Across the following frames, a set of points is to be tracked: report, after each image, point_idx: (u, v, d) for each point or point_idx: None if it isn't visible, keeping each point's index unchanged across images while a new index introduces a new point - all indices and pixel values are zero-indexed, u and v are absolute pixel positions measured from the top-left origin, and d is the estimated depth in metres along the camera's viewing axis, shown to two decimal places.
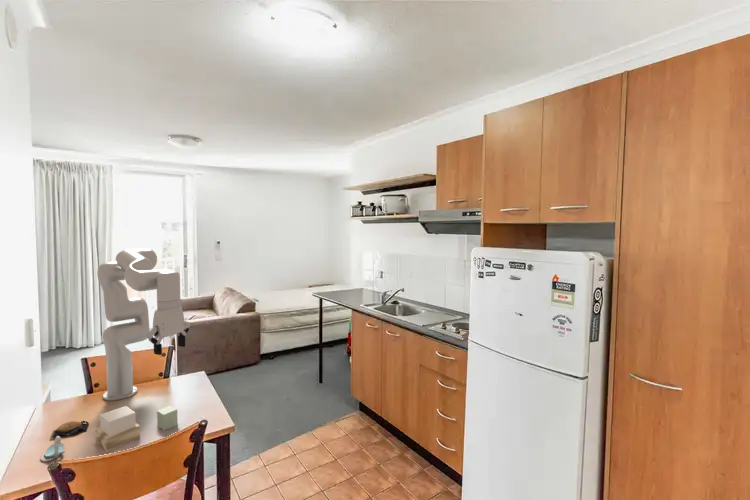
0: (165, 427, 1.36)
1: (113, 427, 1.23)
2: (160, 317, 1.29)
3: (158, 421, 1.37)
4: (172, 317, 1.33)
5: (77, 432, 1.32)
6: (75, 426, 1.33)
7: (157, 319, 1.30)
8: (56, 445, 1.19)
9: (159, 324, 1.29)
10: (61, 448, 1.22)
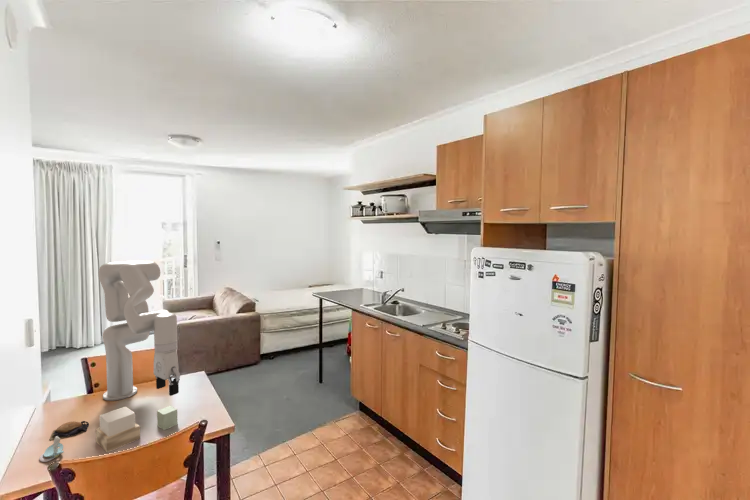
0: (165, 427, 1.36)
1: (112, 428, 1.23)
2: (176, 357, 1.35)
3: (158, 421, 1.37)
4: None
5: (77, 432, 1.31)
6: (74, 426, 1.33)
7: (173, 360, 1.34)
8: (55, 445, 1.19)
9: (176, 364, 1.35)
10: (60, 448, 1.21)
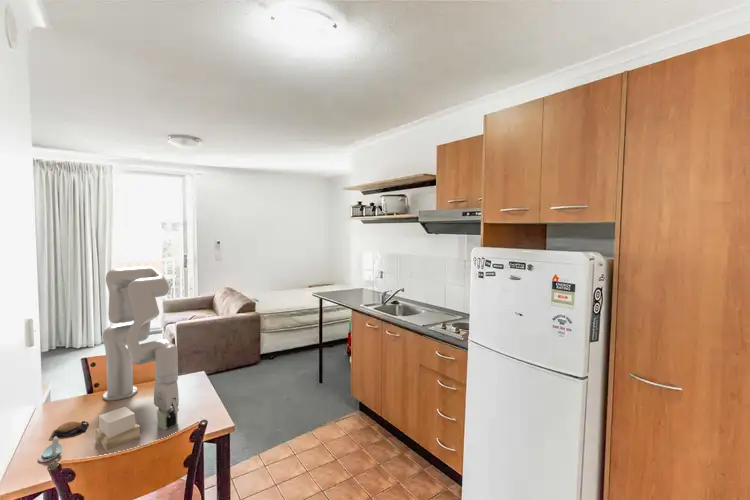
0: (165, 427, 1.36)
1: (112, 428, 1.23)
2: (176, 388, 1.36)
3: (158, 421, 1.37)
4: None
5: (76, 433, 1.31)
6: (74, 427, 1.32)
7: (174, 391, 1.35)
8: (54, 446, 1.18)
9: (176, 395, 1.36)
10: (59, 449, 1.21)
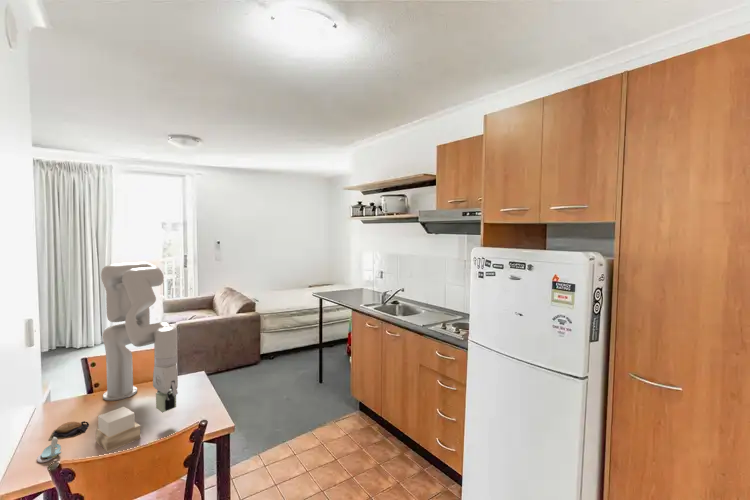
0: (164, 409, 1.36)
1: (112, 428, 1.23)
2: (176, 371, 1.36)
3: (157, 403, 1.37)
4: None
5: (76, 433, 1.31)
6: (74, 427, 1.32)
7: (173, 374, 1.35)
8: (53, 446, 1.18)
9: (176, 378, 1.36)
10: (58, 449, 1.21)
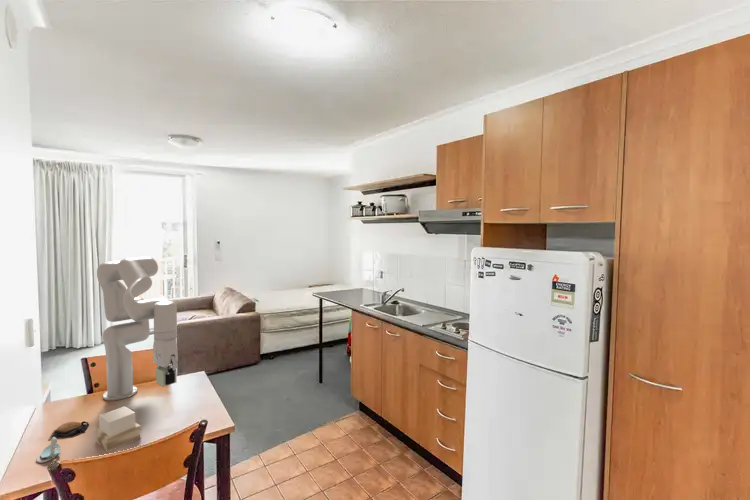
0: (164, 384, 1.35)
1: (113, 427, 1.23)
2: (175, 345, 1.35)
3: (157, 378, 1.36)
4: None
5: (75, 433, 1.31)
6: (74, 427, 1.32)
7: (173, 348, 1.34)
8: (52, 446, 1.18)
9: (175, 352, 1.35)
10: (57, 449, 1.21)
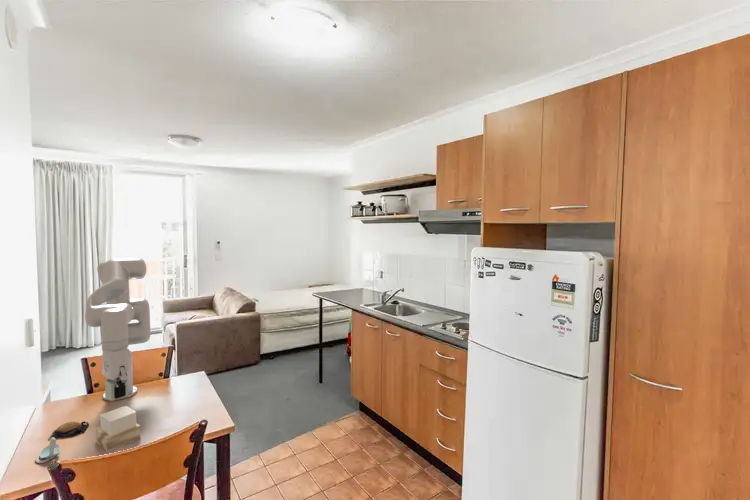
0: (113, 398, 1.24)
1: (114, 427, 1.24)
2: (125, 355, 1.25)
3: (106, 391, 1.26)
4: None
5: (75, 433, 1.31)
6: (73, 427, 1.32)
7: (122, 359, 1.24)
8: (51, 446, 1.18)
9: (125, 363, 1.25)
10: (56, 449, 1.21)
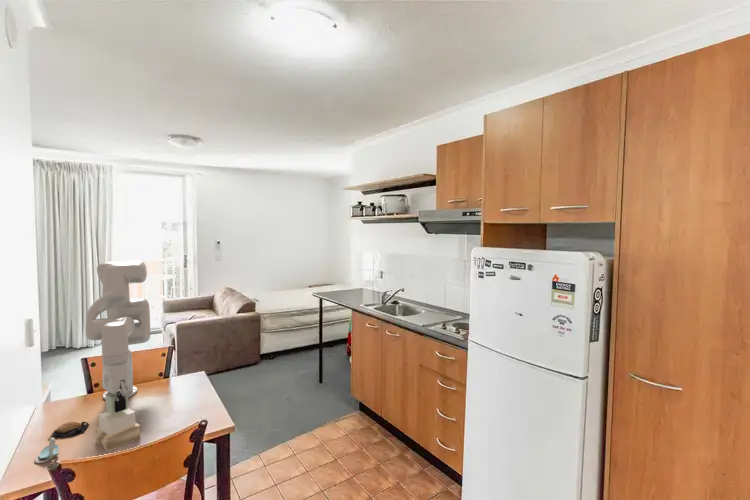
0: (113, 411, 1.25)
1: (113, 427, 1.24)
2: (126, 369, 1.25)
3: (106, 405, 1.27)
4: None
5: (74, 433, 1.31)
6: (73, 427, 1.32)
7: (122, 373, 1.24)
8: (50, 447, 1.18)
9: (126, 377, 1.25)
10: (56, 450, 1.21)
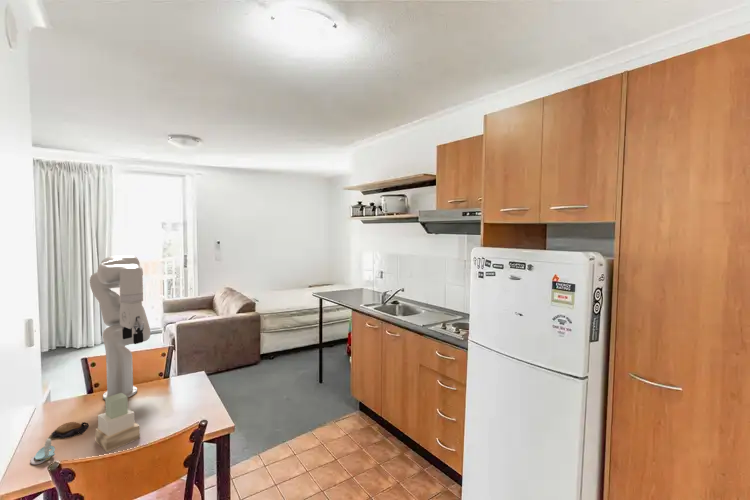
0: (113, 415, 1.25)
1: (112, 427, 1.23)
2: (141, 308, 1.41)
3: (106, 409, 1.27)
4: None
5: (73, 434, 1.30)
6: (72, 428, 1.32)
7: (138, 310, 1.40)
8: (46, 448, 1.17)
9: (141, 314, 1.41)
10: (52, 451, 1.20)
